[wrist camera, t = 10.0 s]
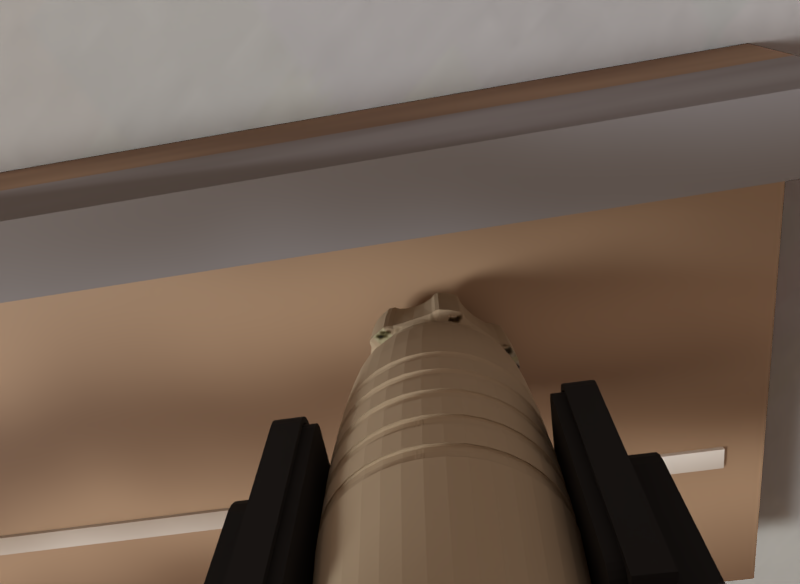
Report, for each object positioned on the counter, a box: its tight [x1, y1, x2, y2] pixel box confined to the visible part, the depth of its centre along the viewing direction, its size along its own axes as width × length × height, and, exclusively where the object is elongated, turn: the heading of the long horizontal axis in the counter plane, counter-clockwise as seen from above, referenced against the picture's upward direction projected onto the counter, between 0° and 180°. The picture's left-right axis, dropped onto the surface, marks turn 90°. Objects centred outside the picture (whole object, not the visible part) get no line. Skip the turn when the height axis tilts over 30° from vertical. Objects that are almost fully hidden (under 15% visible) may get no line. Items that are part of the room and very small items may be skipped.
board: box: [0, 43, 800, 584], centre depth 17 cm, size 14×24×4 cm, turn 100°
